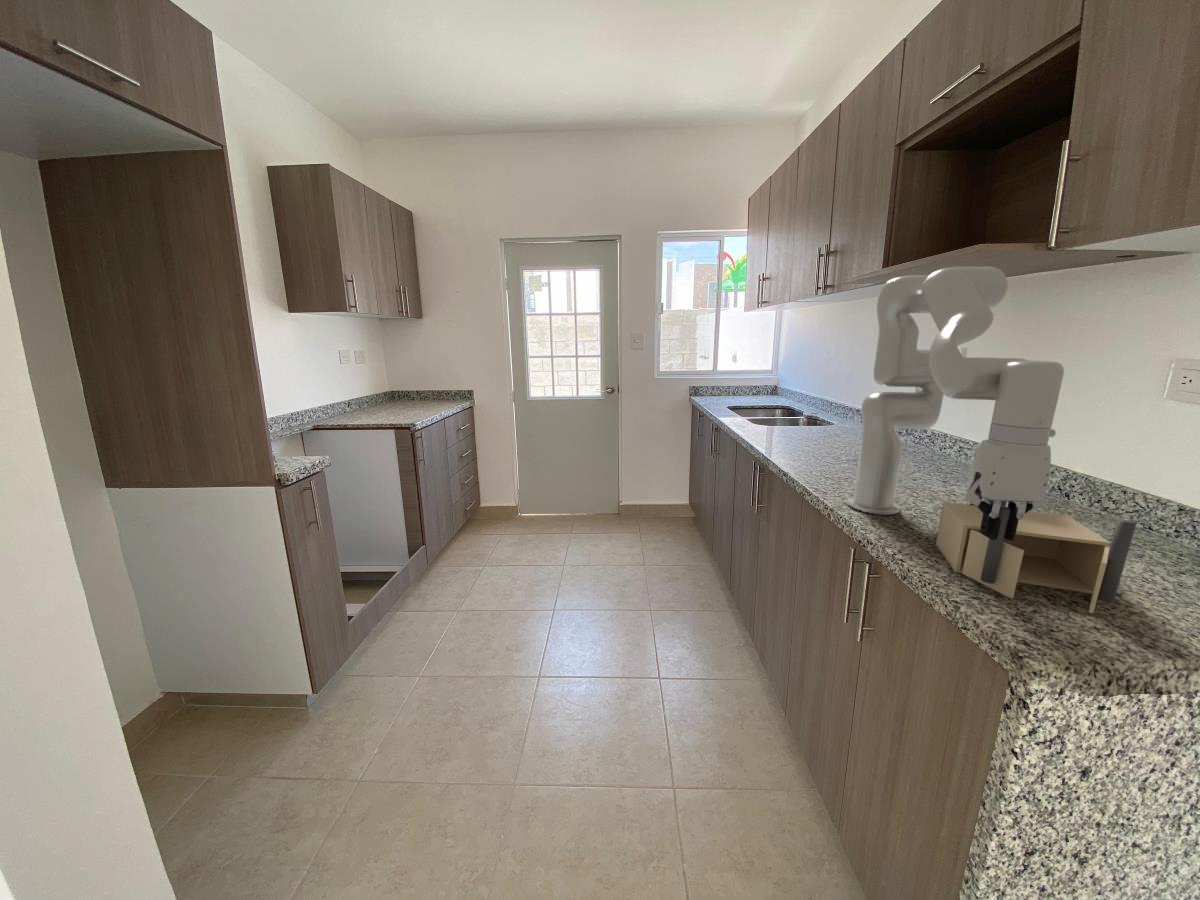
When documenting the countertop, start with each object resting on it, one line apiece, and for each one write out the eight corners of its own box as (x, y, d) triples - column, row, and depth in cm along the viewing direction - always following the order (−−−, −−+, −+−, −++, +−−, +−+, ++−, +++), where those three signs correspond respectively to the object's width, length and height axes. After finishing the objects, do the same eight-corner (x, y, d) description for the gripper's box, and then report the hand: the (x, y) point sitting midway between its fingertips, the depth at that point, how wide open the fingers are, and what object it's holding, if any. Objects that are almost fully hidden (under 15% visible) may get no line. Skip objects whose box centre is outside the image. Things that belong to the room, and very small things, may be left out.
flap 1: (964, 573, 89) (979, 497, 85) (1013, 597, 80) (1032, 514, 77) (953, 574, 88) (968, 498, 85) (1001, 599, 80) (1020, 515, 76)
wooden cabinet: (935, 544, 103) (943, 502, 101) (1056, 561, 95) (1067, 515, 93) (955, 572, 90) (964, 524, 88) (1096, 594, 83) (1110, 542, 80)
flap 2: (1088, 612, 76) (1112, 524, 73) (1092, 593, 82) (1114, 511, 78) (1110, 618, 74) (1136, 529, 71) (1112, 598, 80) (1136, 515, 77)
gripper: (1050, 432, 80) (1028, 530, 84) (953, 430, 82) (935, 527, 86) (1090, 441, 73) (1063, 548, 77) (983, 438, 74) (962, 544, 78)
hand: (996, 536), depth 81 cm, fingers closed on flap 1, 2 cm apart
